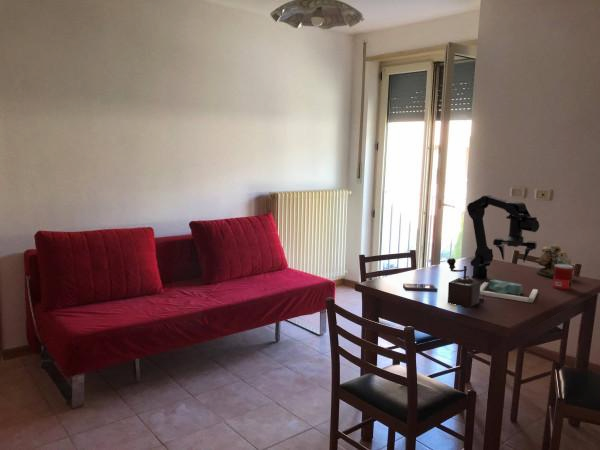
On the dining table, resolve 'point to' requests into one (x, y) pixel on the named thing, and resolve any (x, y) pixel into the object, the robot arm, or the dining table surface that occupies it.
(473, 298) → the manual coffee grinder
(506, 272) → the dining table surface
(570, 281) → the red tapered cylinder
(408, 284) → the dining table surface
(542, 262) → the khaki lumpy piece
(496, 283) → the T block
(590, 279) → the dining table surface
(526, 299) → the outline
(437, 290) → the dining table surface
